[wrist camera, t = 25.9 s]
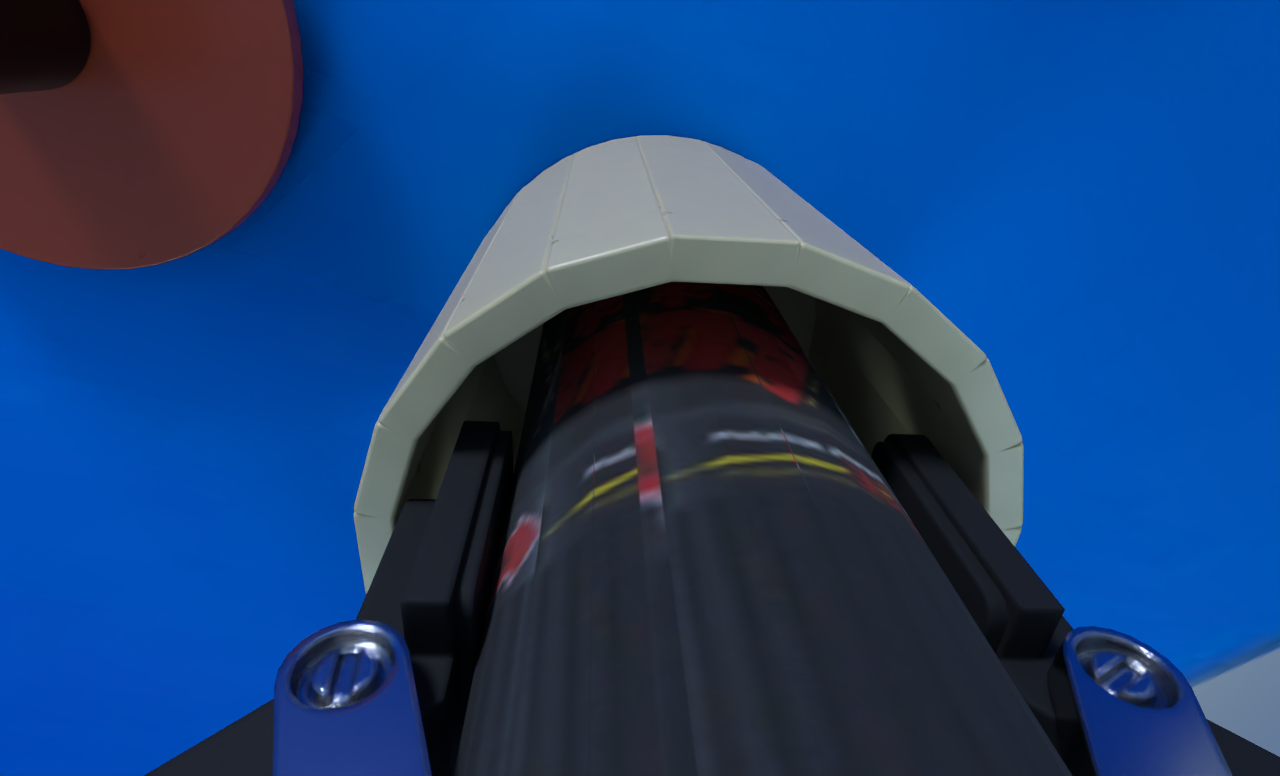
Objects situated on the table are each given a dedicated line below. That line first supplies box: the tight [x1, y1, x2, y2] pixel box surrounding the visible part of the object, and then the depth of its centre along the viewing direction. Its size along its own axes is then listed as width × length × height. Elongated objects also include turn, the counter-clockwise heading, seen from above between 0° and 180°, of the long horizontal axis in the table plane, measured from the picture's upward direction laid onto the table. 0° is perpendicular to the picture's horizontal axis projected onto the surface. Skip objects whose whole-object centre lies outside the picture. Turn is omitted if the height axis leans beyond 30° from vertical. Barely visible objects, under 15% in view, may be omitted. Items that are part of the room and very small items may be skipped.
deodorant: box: [454, 282, 1072, 776], centre depth 11 cm, size 6×6×15 cm
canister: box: [354, 135, 1024, 594], centre depth 15 cm, size 10×10×10 cm
